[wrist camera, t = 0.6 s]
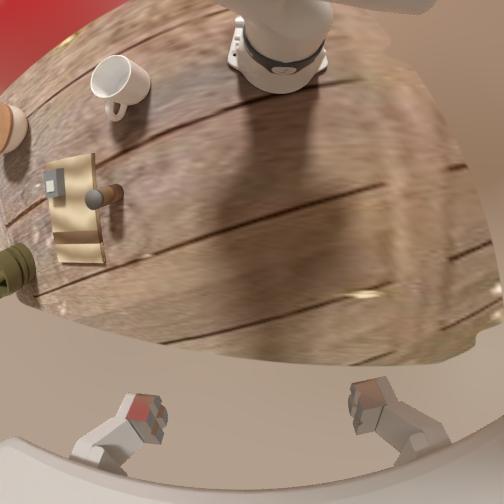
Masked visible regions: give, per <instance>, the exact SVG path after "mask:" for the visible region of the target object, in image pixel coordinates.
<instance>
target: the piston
mask: <svg viewBox="0 0 504 504" xmlns="http://www.w3.org/2000/svg"><path fill="white" fill-rule="evenodd" d="M35 273H36V267H35V261H34V258H33V256H32V254H31V252H30V250H29V249H28V248H27V247H26V246H25V245H24V244H21V243H17V244H15V245H13V246H11V247H9V248H7V249H5V250H4V251H1V252H0V298H2V297H5V296H8V295H11V294H13V293H14V292H16V291H17V290H18V289H19V288H21V287H23V286H24V285H25V284H27V283H28V282H30V281H31V280H32V279H33V278H34V277H35Z"/></svg>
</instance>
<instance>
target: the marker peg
mask: <svg viewBox="0 0 504 504" xmlns="http://www.w3.org/2000/svg"><path fill="white" fill-rule="evenodd" d="M123 195H124V191H123V188H122V186H120V185H119V184H114V185H109V186H105V187H102V188H98V189H93V190H90V191H88V192H87V193H86V196H85V204H86V206H87V207H88V208H89V209H90V210H96V209H99V208H101V207H103V206H106V205H109V204H111V203H114V202H117V201H119V200H121V199H122V197H123Z"/></svg>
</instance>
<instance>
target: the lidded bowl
mask: <svg viewBox="0 0 504 504" xmlns="http://www.w3.org/2000/svg"><path fill="white" fill-rule="evenodd" d="M27 129H28V122H27V119H26V117H25V114H24V113H23V111H22V110H21V109H19V108H18V107H15V106H12V105H6V104H0V155H1V154H6V153H8V152H11V151H13V150H14V149H16V148H17V147H18V146H19V145H20V143H21V142H22V141H23V139H24V138H25V136H26V133H27Z"/></svg>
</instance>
